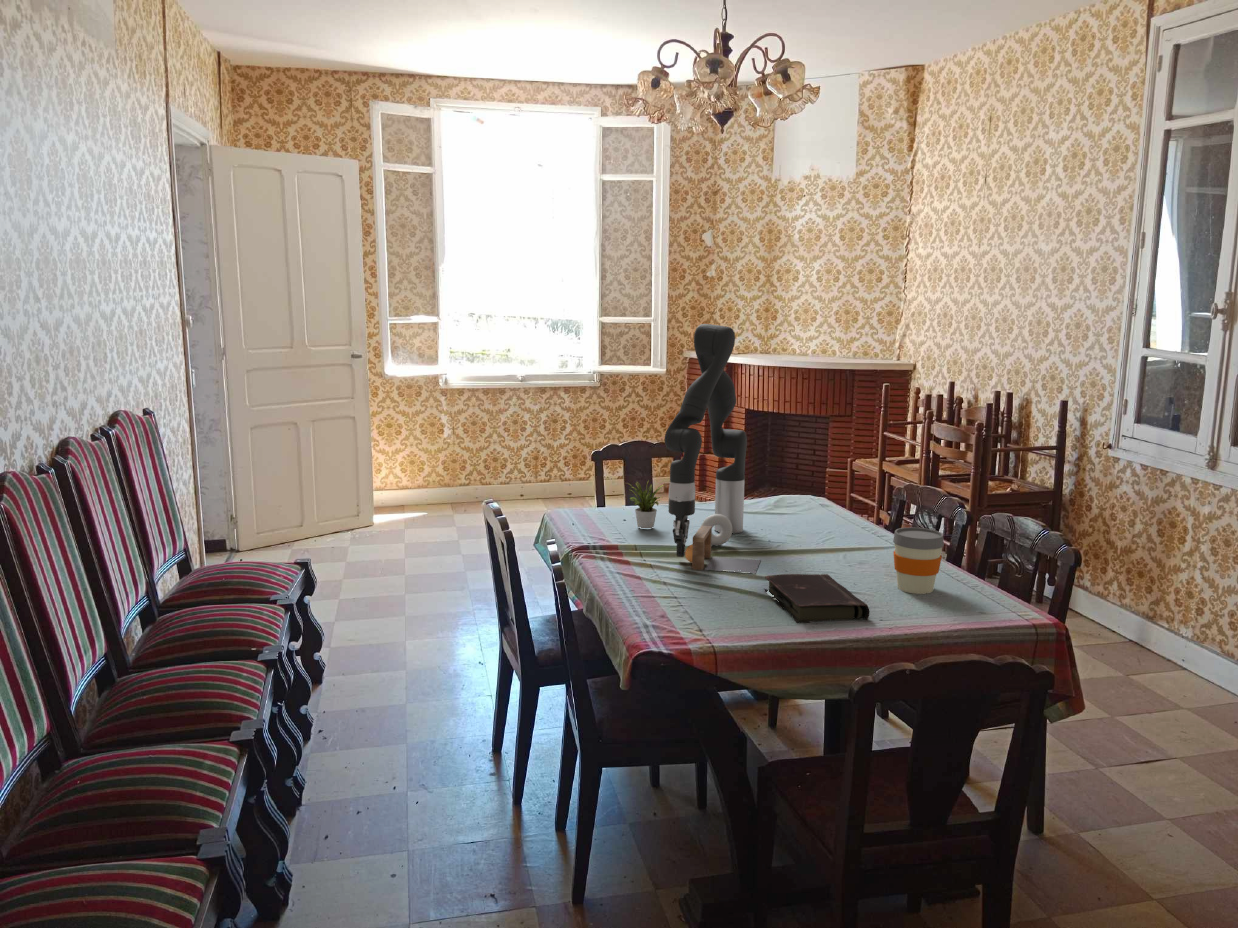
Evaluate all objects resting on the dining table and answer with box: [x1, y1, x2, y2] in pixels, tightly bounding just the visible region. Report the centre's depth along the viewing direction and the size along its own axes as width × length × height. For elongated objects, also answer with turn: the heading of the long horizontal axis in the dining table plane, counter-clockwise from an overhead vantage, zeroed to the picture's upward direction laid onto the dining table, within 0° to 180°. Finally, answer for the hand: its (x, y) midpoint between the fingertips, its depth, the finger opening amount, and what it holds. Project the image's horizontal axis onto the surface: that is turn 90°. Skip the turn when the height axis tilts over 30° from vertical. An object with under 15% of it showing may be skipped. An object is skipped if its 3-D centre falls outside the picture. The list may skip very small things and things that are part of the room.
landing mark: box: [704, 555, 762, 574], centre depth 264 cm, size 14×14×1 cm
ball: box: [684, 543, 693, 564], centre depth 266 cm, size 6×6×6 cm
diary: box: [763, 573, 871, 624], centre depth 231 cm, size 19×25×5 cm
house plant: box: [626, 479, 666, 528], centre depth 305 cm, size 14×14×16 cm
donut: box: [700, 513, 733, 546], centre depth 285 cm, size 10×4×10 cm, turn 100°
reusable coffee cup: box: [892, 527, 945, 595], centre depth 243 cm, size 13×13×15 cm
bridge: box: [691, 526, 713, 571], centre depth 266 cm, size 3×14×9 cm, turn 165°
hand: (680, 556), depth 268 cm, fingers closed
